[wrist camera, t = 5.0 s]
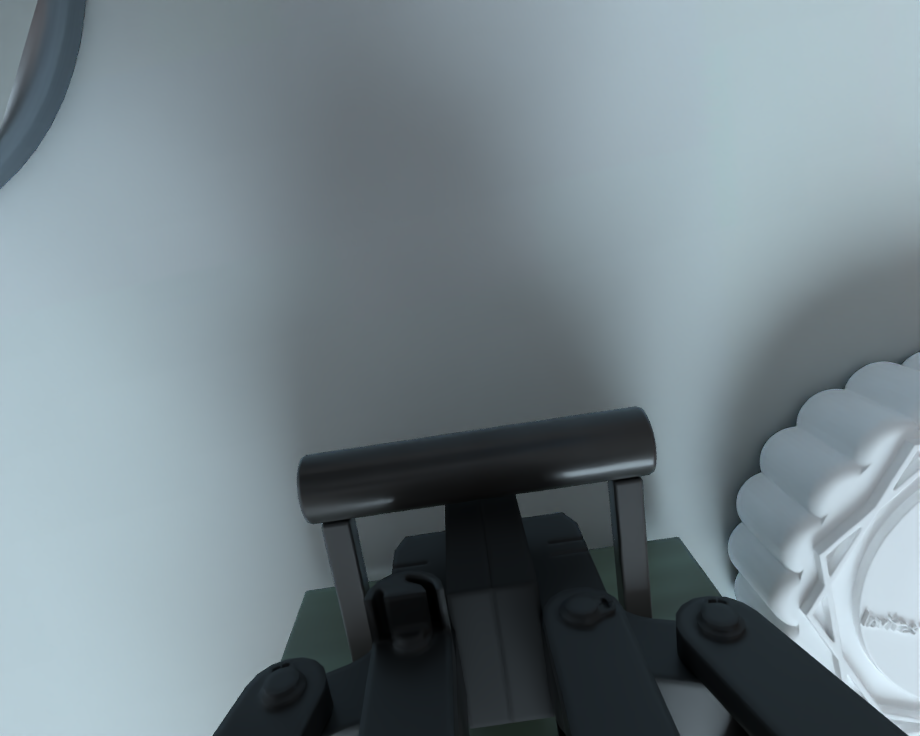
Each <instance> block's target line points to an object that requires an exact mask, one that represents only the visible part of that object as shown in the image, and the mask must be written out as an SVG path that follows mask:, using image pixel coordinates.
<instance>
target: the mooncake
mask: <svg viewBox="0 0 920 736" xmlns="http://www.w3.org/2000/svg"><path fill="white" fill-rule="evenodd" d="M760 469H761V472H760V473H758V474H756V475H754V476H752V477H751V478H749V479H748V480H747V481H746V482H745V483H744V484H743V486H742V487H741V489H740V491H739V493H738V496H737V500H736V507H737V512H738V515H739V517H740V519H741V520H742V522H741V523H740V524H739V525H738V526H737V527H736V528H735V529H734V530H733V532H732V533H731V535H730V538H729V541H728V554H729V557H730V559H731V561H732V563H733V564H734V566H735V567H736V568H737V569H738V571H739V573H738V575H737V577H736V580H735V585H734V591H735V596H736V598H737V601H740V602H743V603H745V604H746V605H748V606H750V607H751V608H753V609H755V610H756V611H758V612H759V613H760V614H761V615H763V616H764V617H765V618H766V619H767V620H769V621H770V622H771V623H772V624H774V625H775V626H776V627H777V628H778V629H780V630H781V631H782V632H783V633H784V634H786V635H787V636H788V637H789V638H791V639H792V640H793V641H794V642H795V643H797V644H798V645H799V646H800V647H801V648H803V649H804V650H805V651H806V652H808V653H809V654H810V655H811V656H812V657H814V658H815V659H816V660H817V661H819V662H820V663H821V664H822V665H823V666H825V667H826V668H827V669H828V670H829V671H831V672H832V673H833V674H834V675H836V676H837V677H838V678H839V679H840V680H842V681H843V682H844V683H845V684H846V685H848V686H849V687H850V688H851V689H853V690H854V691H855V692H856V693H857V694H859V695H860V696H861V697H862V698H863V699H865V700H866V701H867V702H868V703H870V704H871V705H872V706H873V707H874V708H876V709H877V710H878V711H879V712H880V713H882V714H883V715H884V716H885V717H887V718H888V719H889V720H890V721H891V722H893V723H894V724H895V725H896V726H897V727H899V728H900V729H901V730H902V731H904V732H905V733H906V734H907V735H908V736H920V352H917V353H916V354H914V355H912V356H911V357H909V358H908V359H907V360H906V361H905V362H904V363H903V364H902V365H900V364H897V363H893V362H875V363H871V364H868V365H866V366H864V367H862V368H861V369H859V370H858V371H856V372H855V373H854V374H853V375H852V376H851V378H850V379H849V380H848V382H847V384H846V386H845V388H844V389H828V390H825V391H821V392H819V393H817V394H815V395H814V396H812V397H811V398H810V399H808V400H807V401H806V402H805V404H804V405H803V406H802V408H801V409H800V411H799V414H798V417H797V422H796V426H795V427H790V428H786V429H783V430H781V431H779V432H777V433H775V434H774V435H773V436H772V437H770V439H769V440H768V441H767V442H766V443H765V445H764V447H763V449H762V451H761V455H760Z"/></svg>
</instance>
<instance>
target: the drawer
mask: <svg viewBox="0 0 920 736" xmlns="http://www.w3.org/2000/svg"><path fill="white" fill-rule="evenodd" d="M655 467H656V443H655V438H654V433H653V430H652V426H651V424H650V421H649V419H648V417H647V415H646V413H645V412H644V410H643V409H642V408H640V407H637V406H634V407H628V408H621V409H614V410H607V411H600V412H594V413H587V414H580V415H573V416H567V417H560V418H553V419H546V420H540V421H533V422H526V423H519V424H512V425H506V426H499V427H492V428H485V429H479V430H472V431H465V432H458V433H452V434H445V435H438V436H431V437H424V438H418V439H411V440H404V441H397V442H391V443H384V444H377V445H370V446H364V447H357V448H350V449H343V450H336V451H330V452H323V453H316V454H309V455H306V456H304V457H302V458H301V460H300V462H299V466H298V472H297V491H298V499H299V504H300V507H301V510H302V513H303V516H304V518H305V519H306V521H307V522H308V523H311V524H318V523H323V524H322V532H323V536H324V541H325V545H326V549H327V554H328V558H329V562H330V567H331V571H332V576H333V580H334V584H335V587H330V588H323V589H316V590H310V591H306V592H305V595H304V598H303V601H302V604H301V606H300V609H299V612H298V615H297V618H296V620H295V623H294V626H293V629H292V632H291V634H290V637H289V640H288V643H287V646H286V648H285V651H284V654H283V657H282V660H281V661H283V660H286V659H291V658H300V657H305V658H309V659H314V660H316V661H317V662H319V663H320V664H321V665H322V666H323V667H324V669H325V673H328V672H330V671H333V670H335V669H338V668H341V667H343V666H346V665H348V664H350V663H352V662H354V661H356V660H358V659H360V658H361V657H362V656H364V655H365V654H367V653H368V652H369V651H370V650H371V649H372V639H371V634H370V630H369V625H368V620H367V616H366V611H365V607H364V602H363V600H364V598H365V596H366V594H367V592H368V590H369V589H370V588H371V587H372V586H374V585H375V584H376V583H377V582H378V581H380V580H378V581H371V582H368V578H367V573H366V568H365V563H364V559H363V554H362V549H361V545H360V540H359V535H358V530H357V526H356V521H355V518H359V517H366V516H373V515H379V514H386V513H393V512H400V511H407V510H413V509H420V508H427V507H434V506H441V505H448V504H454V503H461V502H468V501H475V500H482V499H488V498H495V497H502V496H509V495H516V494H522V493H529V492H536V491H543V490H550V489H557V488H563V487H570V486H577V485H584V484H591V483H597V482H604V481H608V490H609V501H610V512H611V523H612V534H613V545H614V546H611V547H605V548H598V549H591V550H588V551H589V552H590V554H591V557H592V559H593V561H594V564H595V566H596V568H597V571H598V573H599V575H600V578H601V580H602V582H603V585H604V587H605V589H606V592H607V593H608V594H610V595H612V596H614V597H615V598H616V599H617V600H618V602H619V603H620V604H621V605H622V607H623V609H624V610H626V611H627V612H629V613H632V614H635V615H638V616H642V617H648V618H653V619H665V620H676V613H677V611H678V610H679V608H680V607H681V605H682V604H684V603H686V602H688V601H690V600H691V599H693V598H699V597H704V596H719V597H722V596H721V594H720V593H719V592H718V590H717V589H716V588H715V586H714V585H713V583H712V582H711V581H710V579H709V578H708V577H707V575H706V574H705V572H704V571H703V570H702V568H701V567H700V566H699V564H698V563H697V561H696V560H695V559H694V557H693V556H692V555H691V553H690V552H689V550H688V549H687V548H686V546H685V545H684V544H683V542H682V541H681V539H680V538H679V537H673V538H666V539H659V540H653V541H647V536H646V522H645V508H644V495H643V481H642V479H641V477H640V476H645V475H650V474H651V473H653V472H654V470H655ZM468 724H469V722H468ZM469 736H558V732H557V724H556V717H550V718H543V719H536V720H529V721H522V722H515V723H508V724H501V725H494V726H487V727H480V728H473V729H470V727H469Z"/></svg>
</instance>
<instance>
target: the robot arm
mask: <svg viewBox="0 0 920 736" xmlns="http://www.w3.org/2000/svg"><path fill="white" fill-rule="evenodd" d="M84 13H85V0H0V189H1V188H2V187H3V186H4V185H5V184H6V183H7V182H8V181H9V180H10V179H11V178H12V177H13V176H14V175H15V174H16V173H17V172H18V171H19V170H20V169H21V168H22V166H23V165H24V164H25V163H26V161H27V160H28V159H29V158H30V156H31V155H32V154H33V153H34V151H35V150H36V149H37V147H38V146H39V144H40V142H41V141H42V139H43V138H44V136H45V134H46V133H47V131H48V130H49V128H50V126H51V125H52V123H53V121H54V119H55V116H56V114H57V112H58V110H59V108H60V106H61V104H62V102H63V100H64V97H65V94H66V91H67V89H68V86H69V83H70V80H71V77H72V74H73V71H74V67H75V63H76V59H77V55H78V51H79V46H80V42H81V35H82V28H83V21H84ZM445 530H446V531H442V532H435V533H428V534H422V535H415V536H408V537H405V538H404V540H403V541H402V542H401V543H400V545H399V546H398V547H397V549H396V550H395V552H394V560H393V569H392V574H391V575H389V576H388V577H386V578H384V579H382V580H380V581H378V582H377V583H376V584H375V585H374V586H372V587H371V588H370V589H369V590H368V592H367V594H366V596H365V598H364V600H363V602H364V607H365V611H366V616H367V620H368V625H369V630H370V634H371V639H372V649H371V650H370V651H369V652H368V653H367V654H365V655H364V656H362V657H361V658H360V659H358V660H356V661H354V662H352V663H350V664H348V665H346V666H343V667H341V668H338V669H335V670H333V671H330V672H328V673H325V669H324V667H323V666H322V665H321V664H320V663H319V662H317V661H316V660H314V659H309V658H305V657H300V658H291V659H286V660H283V661H281V662H278V663H276V664H273V665H271V666H269V667H268V668H266V669H265V670H263V671H262V672H260V673H259V674H257V675H256V676H255V678H254V679H253V680H252V681H251V682H250V683H249V684H248V685H247V686H246V687H245V689H244V690H243V692H242V693H241V695H240V696H239V698H238V699H237V701H236V702H235V704H234V705H233V707H232V708H231V709H230V711H229V712H228V714H227V715H226V717H225V718H224V720H223V721H222V723H221V724H220V726H219V727H218V728H217V730H216V731H215V733H214V734H213V736H469V727H470V729H473V728H480V727H487V726H494V725H501V724H508V723H515V722H522V721H529V720H536V719H543V718H550V717H556V724H557V732H558V736H908V735H907V734H906V733H905V732H904V731H902V730H901V729H900V728H899V727H897V726H896V725H895V724H894V723H893V722H891V721H890V720H889V719H888V718H887V717H885V716H884V715H883V714H882V713H880V712H879V711H878V710H877V709H876V708H874V707H873V706H872V705H871V704H870V703H868V702H867V701H866V700H865V699H863V698H862V697H861V696H860V695H859V694H857V693H856V692H855V691H854V690H853V689H851V688H850V687H849V686H848V685H846V684H845V683H844V682H843V681H842V680H840V679H839V678H838V677H837V676H836V675H834V674H833V673H832V672H831V671H829V670H828V669H827V668H826V667H825V666H823V665H822V664H821V663H820V662H819V661H817V660H816V659H815V658H814V657H812V656H811V655H810V654H809V653H808V652H806V651H805V650H804V649H803V648H801V647H800V646H799V645H798V644H797V643H795V642H794V641H793V640H792V639H791V638H789V637H788V636H787V635H786V634H784V633H783V632H782V631H781V630H780V629H778V628H777V627H776V626H775V625H774V624H772V623H771V622H770V621H769V620H767V619H766V618H765V617H764V616H763V615H761V614H760V613H759V612H758V611H756V610H755V609H753V608H751V607H750V606H748V605H746V604H745V603H743V602H740V601H737V600H734V599H731V598H727V597H719V596H704V597H699V598H693V599H691V600H690V601H688V602H686V603H684V604H682V605H681V607H680V608H679V610H678V611H677V613H676V620H665V619H653V618H648V617H642V616H638V615H635V614H632V613H629V612H627V611H626V610H624V609H623V607H622V605H621V604H620V603H619V602H618V600H617V599H616V598H615V597H614V596H612V595H610V594H608V593H607V592H606V589H605V587H604V585H603V582H602V580H601V578H600V575H599V573H598V571H597V568H596V566H595V564H594V561H593V559H592V557H591V554H590V552H589V551H588V547H587V545H586V543H585V541H584V539H583V536H582V534H581V531H580V529H579V527H578V524H577V523H576V522H575V521H574V520H572V519H571V518H570V517H568V516H567V515H566V514H564V513H563V512H561V513H554V514H547V515H540V516H533V517H527V518H521V515H520V511H519V507H518V503H517V500H516V496H515V495H509V496H502V497H495V498H488V499H482V500H475V501H468V502H461V503H454V504H448V505H445ZM468 722H469V724H468Z"/></svg>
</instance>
